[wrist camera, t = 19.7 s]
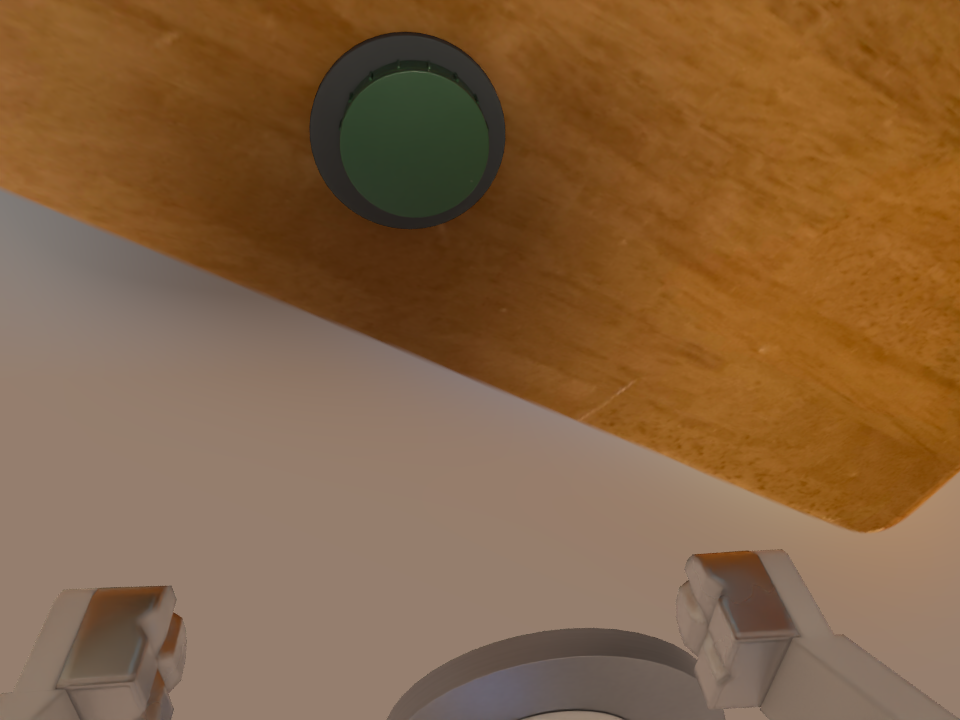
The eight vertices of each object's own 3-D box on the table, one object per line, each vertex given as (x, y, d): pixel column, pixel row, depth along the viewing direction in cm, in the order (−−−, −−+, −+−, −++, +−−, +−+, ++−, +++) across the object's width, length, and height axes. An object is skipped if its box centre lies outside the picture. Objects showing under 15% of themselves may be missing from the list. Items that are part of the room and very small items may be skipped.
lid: (488, 60, 29) (493, 71, 27) (482, 202, 32) (486, 218, 31) (335, 57, 28) (332, 68, 27) (345, 202, 31) (343, 219, 30)
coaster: (442, 253, 34) (443, 258, 33) (279, 169, 31) (277, 174, 30) (540, 100, 30) (543, 104, 30) (366, -12, 27) (365, -9, 27)
